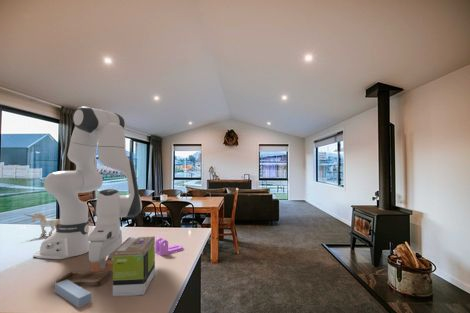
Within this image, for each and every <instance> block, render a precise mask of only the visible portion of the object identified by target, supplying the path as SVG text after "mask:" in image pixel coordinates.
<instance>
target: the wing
mask: <svg viewBox="0 0 470 313" xmlns="http://www.w3.org/2000/svg"><path fill="white" fill-rule="evenodd" d="M71 281H72V280H70V279H69V280H64V281H61V282H59V283H56V282H55V283H54V292H55V294H57V295H58V296H60V297H62V298H63V299H65V300H67V301H68V302H69V303H70V304H72V305H74V306H76V307H77V308H78V309H79V308H80V307H81V308H82V307H83V306H86V305H88V304H90V303H92V292H90V291H89V290H87V289H85V288H84V287H80V286H78V285H76V284H74V283H73V282H71Z"/></svg>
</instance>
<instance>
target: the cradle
mask: <svg viewBox="0 0 470 313" xmlns="http://www.w3.org/2000/svg"><path fill="white" fill-rule="evenodd" d="M111 276H112V271H102V272H91V271H90V272H89V271H88V272H84V271H82V272H80V271H79V272H74V271H69V272H67V273H65V274H64V275H63V276H61V277H60V278H58V279H57V280H56V281H55V284H56V283H59V282H61V281H64V280H69V281H71V282H73V283H74V284H76V285H78V286H80V287H81V288H83V287H101V286H102V285H104V283H106V281H108V279H109V278H111ZM81 278H82V279H85V278H88V279H89V278H95V279H96V278H98V279H97V280H70V279H81Z"/></svg>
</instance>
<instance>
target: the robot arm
mask: <svg viewBox="0 0 470 313" xmlns="http://www.w3.org/2000/svg"><path fill="white" fill-rule="evenodd" d="M72 123H73V124H74V128H73V131H72V135H71V136H70V142H69V146H68V151H67V158H68V160H69V161H70V162H71V163H74V165H75V170H60V171H59V170H58V171H54V172H50V173H48V175H47V176H46V177H45V178H44V181H43V188H44V189H45V191H46V192H47V193H48V194H50V195H51V196H53V197H54V198H55V199H56V201H57V203H58V205H59V209H60V210H59V211H60V224H58V225H56V227H55V226H54V230H55V229H56V228H57V230H56V231H54V233H53V232H52V234H51V236H49V235H48V237H47V238H45V239H44V240H43V241H42V242H41V243H40V244H41V245H40V247H39V250H38V251H36V252H35V253H34V254H33V256H32V257H33V258H34V257H36V258H35V259H37V258H38V259H49V260H51V259H52V260H65V259H68V258H71V257H72V258H73V257H77V256H81V255H84V254H87V253H88V259H89V262H90V263H97V262H100V268H101V269H104V268H106V267H107V263H106V261H105V260H113V251H114V250H116V248H118V247H119V246H120V245H121V244H122V243H123V236H122V235H123V234H122V230H121V219H120V218H136V217H137V216H138V215H139V214H141V212H142V210H143V209H142V208H143V203H142V199H141V197H140V193H139V192H140V191H139V186H138V180H137V174H136V169H135V166H134V162H133V160H132V159H130V158H129V157H128V155H127V152H126V148H127V147H126V135H125V130H124V128H125V125H126V124H125V119H124V118H123V116H121V114H118V113H116V112H112V111H109V110H105V109H100V108H95V107H94V108H93V107H90V106H79V107H77V109H76V110H75V111H74V113H73V114H72ZM96 153H97V158H98V160H99V162H100V164H102V165H103V166H105V167H107V168H110V169H111V170H115V171H118V172H120V173H122V174H124V176H125V177H126V180H127V185H128V192H129V193H128V194H123V195H122V194H121V195H120V191H119V190H117V189H113V188H109V189H106V188H105V189H102V190H100V188H101V187H102V186H103V183H104V182H103V180H104V179H103V176H102V174H101V173H100V172H99V171H98V170H97V168H96V163H95V162H96V161H95V160H96V159H95V158H96ZM97 190H100V191H99V192H98V193H97V198H96V200H95V202H94V206H93V207H94V208H93V214H94V216H96V219H95V220H96V221H95V224H94V225H95V227H94V228H93V230H92V231H91V232H90V233H89V230H90V222H89V205H88V204H87V203H86V202H85V201H83V200H81V199H80V197H79V194H82V193H91V192H93V191H97ZM107 257H108V258H107Z"/></svg>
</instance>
